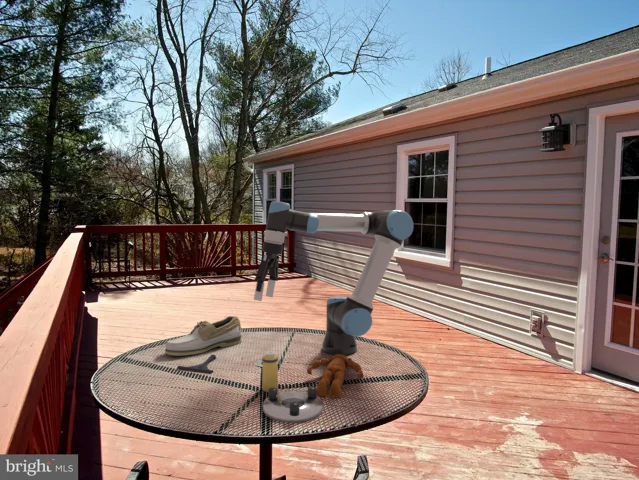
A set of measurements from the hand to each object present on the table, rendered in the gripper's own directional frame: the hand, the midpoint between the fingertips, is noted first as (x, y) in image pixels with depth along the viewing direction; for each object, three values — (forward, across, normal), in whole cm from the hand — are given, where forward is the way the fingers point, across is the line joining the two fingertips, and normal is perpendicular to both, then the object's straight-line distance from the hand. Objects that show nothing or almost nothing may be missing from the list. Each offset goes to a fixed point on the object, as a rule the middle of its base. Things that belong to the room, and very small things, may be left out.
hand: (263, 298), depth 160 cm
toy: (+23, +3, +32) cm, 40 cm away
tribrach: (+26, +27, +24) cm, 44 cm away
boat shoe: (+30, -20, -28) cm, 46 cm away
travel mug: (+27, +15, +12) cm, 33 cm away
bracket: (+31, -1, -19) cm, 36 cm away
